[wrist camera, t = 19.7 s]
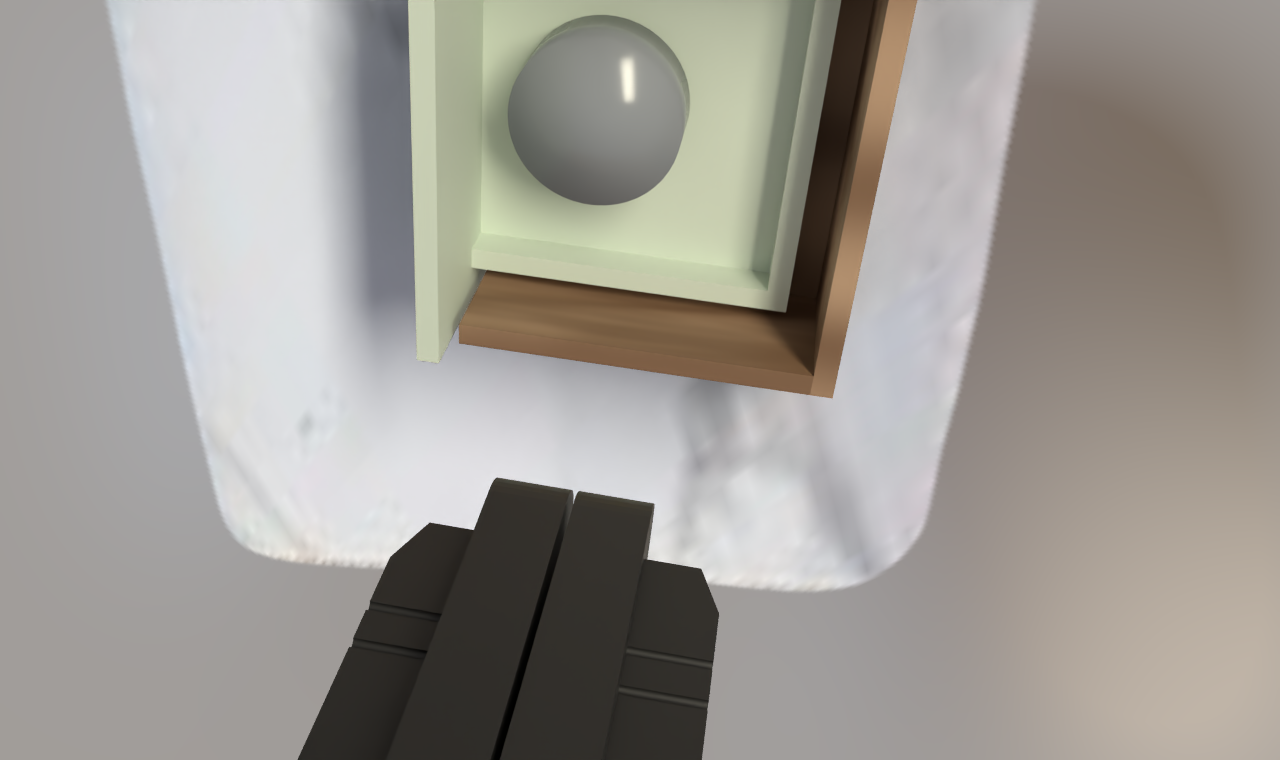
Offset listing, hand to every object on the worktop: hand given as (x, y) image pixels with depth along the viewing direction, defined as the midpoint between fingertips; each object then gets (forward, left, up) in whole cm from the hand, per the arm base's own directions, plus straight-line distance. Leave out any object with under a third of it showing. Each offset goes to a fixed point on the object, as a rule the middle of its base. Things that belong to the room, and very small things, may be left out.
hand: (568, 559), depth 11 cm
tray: (+8, -3, -34) cm, 35 cm away
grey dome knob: (+8, -4, -32) cm, 34 cm away
